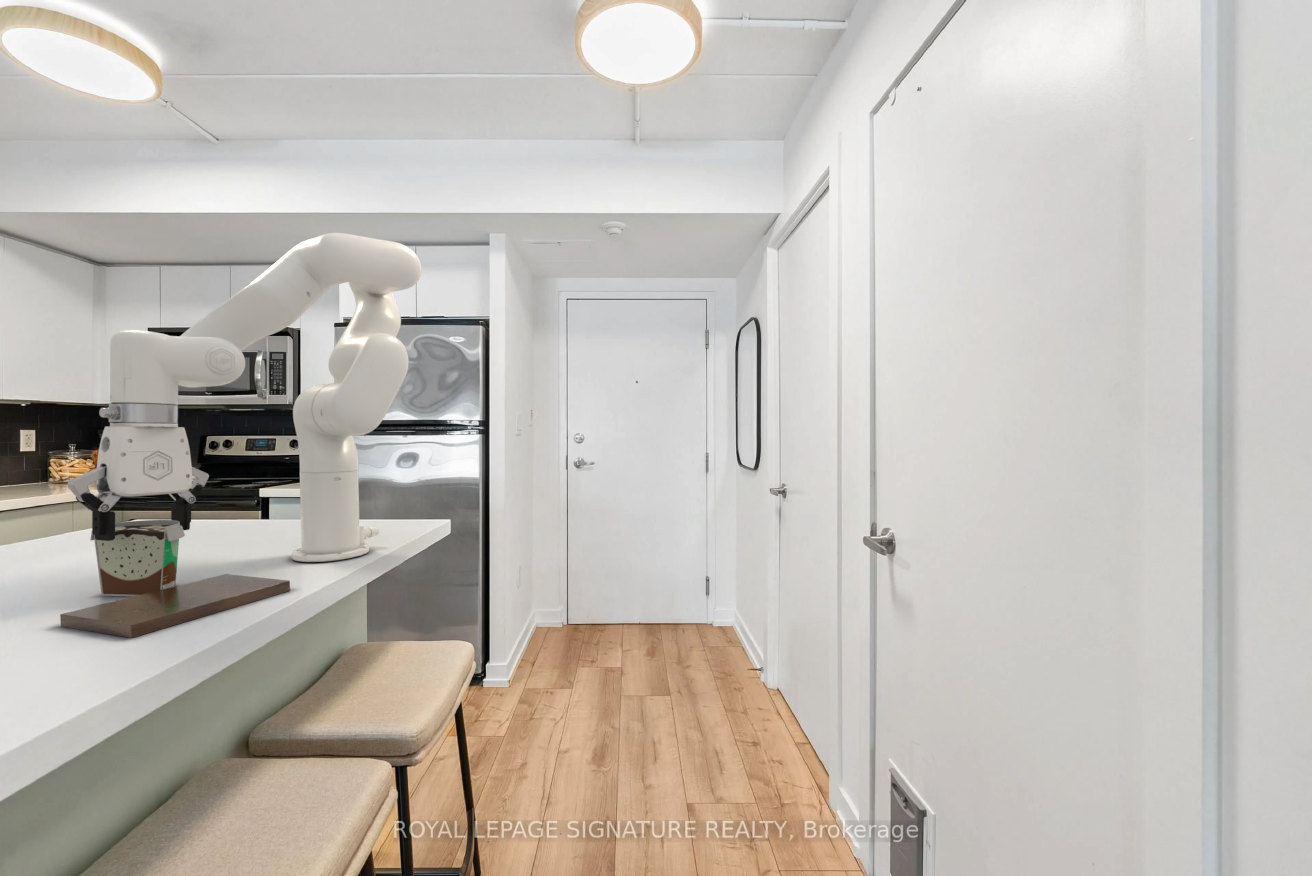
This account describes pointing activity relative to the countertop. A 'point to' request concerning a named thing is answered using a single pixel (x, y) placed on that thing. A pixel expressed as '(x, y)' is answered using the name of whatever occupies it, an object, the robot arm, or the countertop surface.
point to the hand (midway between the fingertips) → (144, 534)
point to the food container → (139, 557)
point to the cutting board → (172, 605)
